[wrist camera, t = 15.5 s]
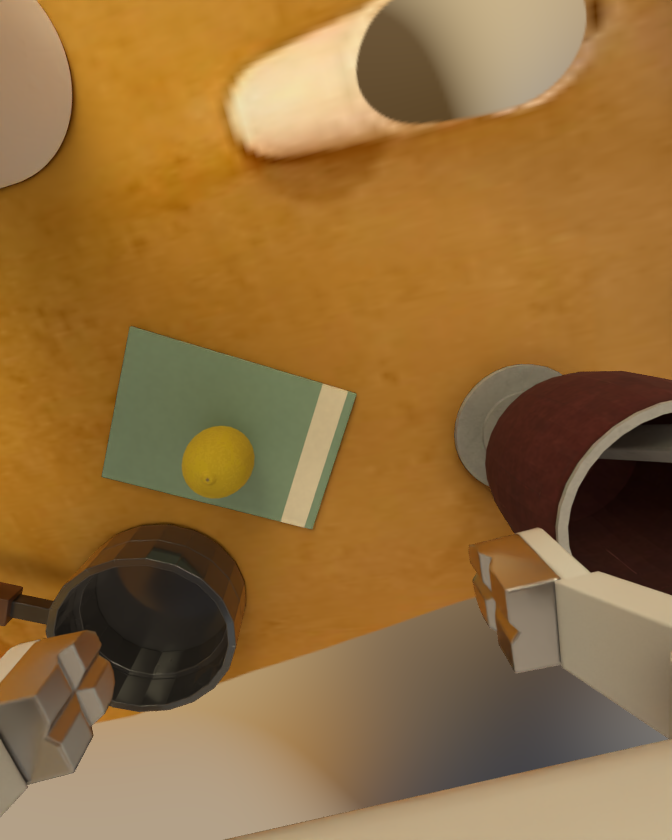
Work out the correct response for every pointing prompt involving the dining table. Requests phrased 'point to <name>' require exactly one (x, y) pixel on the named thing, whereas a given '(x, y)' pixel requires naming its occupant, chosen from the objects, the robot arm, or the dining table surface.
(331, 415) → the tea towel
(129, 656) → the pan
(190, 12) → the dining table surface
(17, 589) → the pan handle
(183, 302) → the dining table surface
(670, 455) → the mate gourd
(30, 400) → the dining table surface
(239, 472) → the lemon
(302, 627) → the dining table surface
